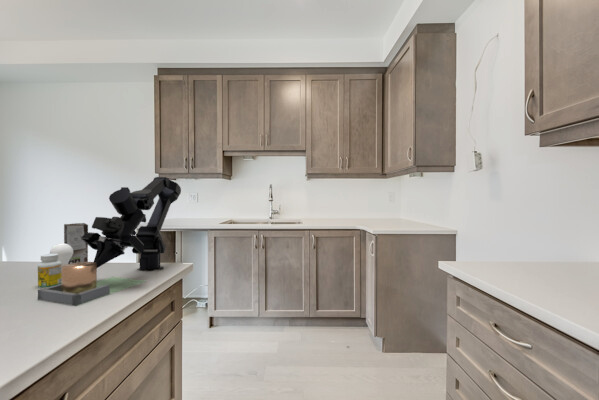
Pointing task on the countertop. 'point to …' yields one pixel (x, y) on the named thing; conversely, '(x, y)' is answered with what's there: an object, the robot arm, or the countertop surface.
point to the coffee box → (76, 241)
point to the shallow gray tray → (71, 295)
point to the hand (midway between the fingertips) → (94, 267)
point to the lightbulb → (62, 253)
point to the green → (116, 284)
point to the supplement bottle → (49, 271)
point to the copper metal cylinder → (79, 277)
